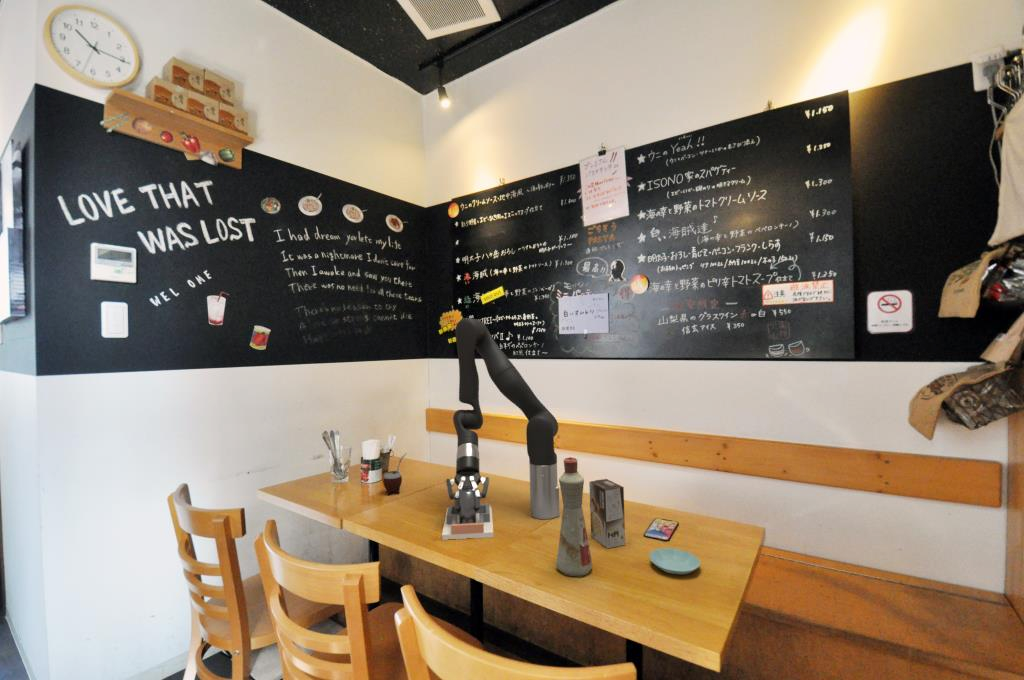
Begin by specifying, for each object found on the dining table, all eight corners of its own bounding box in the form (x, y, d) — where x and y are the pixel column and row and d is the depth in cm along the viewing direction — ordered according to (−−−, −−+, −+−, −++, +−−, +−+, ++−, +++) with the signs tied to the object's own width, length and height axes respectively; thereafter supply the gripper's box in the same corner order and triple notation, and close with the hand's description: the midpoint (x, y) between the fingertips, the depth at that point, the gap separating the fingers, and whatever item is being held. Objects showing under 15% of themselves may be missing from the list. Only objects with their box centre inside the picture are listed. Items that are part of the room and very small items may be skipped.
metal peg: (476, 523, 136) (475, 487, 137) (476, 529, 131) (475, 492, 132) (459, 524, 136) (459, 488, 136) (459, 530, 131) (458, 493, 131)
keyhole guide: (491, 510, 152) (491, 498, 152) (493, 537, 130) (493, 523, 130) (447, 512, 151) (447, 500, 151) (441, 540, 129) (441, 526, 129)
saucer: (705, 564, 112) (704, 555, 112) (693, 585, 102) (693, 575, 102) (658, 552, 118) (657, 544, 118) (643, 571, 109) (642, 562, 109)
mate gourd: (379, 495, 171) (379, 456, 171) (392, 489, 178) (392, 451, 178) (395, 497, 168) (394, 457, 168) (407, 490, 175) (407, 452, 175)
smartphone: (642, 535, 128) (655, 517, 141) (642, 538, 128) (655, 520, 141) (668, 540, 124) (679, 521, 137) (668, 543, 124) (679, 524, 137)
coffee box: (626, 545, 123) (625, 487, 123) (606, 549, 121) (605, 490, 121) (608, 532, 132) (606, 478, 132) (589, 536, 129) (588, 481, 130)
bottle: (553, 561, 114) (550, 453, 115) (587, 559, 115) (585, 451, 116) (559, 579, 106) (556, 461, 106) (596, 576, 106) (593, 460, 107)
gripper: (445, 455, 142) (442, 506, 130) (489, 453, 143) (491, 504, 131) (446, 467, 147) (444, 517, 135) (489, 465, 148) (491, 515, 136)
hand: (467, 510), depth 133 cm, fingers closed on metal peg, 5 cm apart
